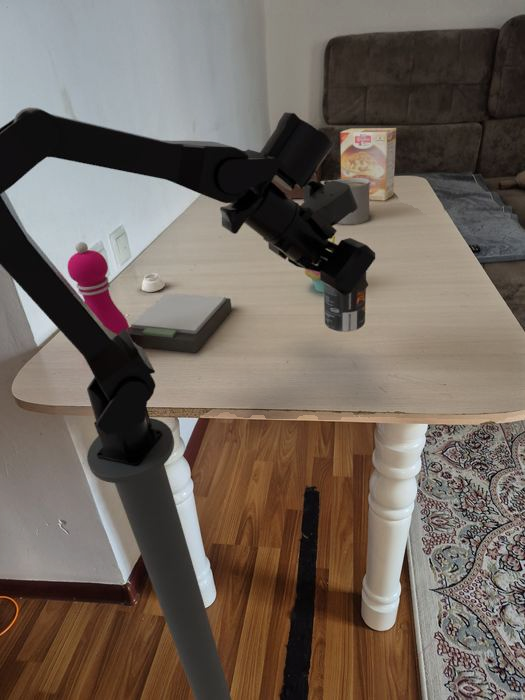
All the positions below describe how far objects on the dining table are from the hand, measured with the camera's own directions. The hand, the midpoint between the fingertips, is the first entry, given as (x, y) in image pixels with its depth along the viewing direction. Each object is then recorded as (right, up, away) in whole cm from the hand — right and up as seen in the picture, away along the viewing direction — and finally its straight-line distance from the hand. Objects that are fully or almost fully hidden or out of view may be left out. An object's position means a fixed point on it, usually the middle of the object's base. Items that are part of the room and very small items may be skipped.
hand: (352, 280), depth 69 cm
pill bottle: (-1, -6, +3) cm, 7 cm away
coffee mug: (+12, +28, +68) cm, 74 cm away
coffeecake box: (+20, +38, +84) cm, 94 cm away
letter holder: (-3, +42, +94) cm, 103 cm away
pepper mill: (-40, -2, +10) cm, 41 cm away
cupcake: (0, +2, +29) cm, 30 cm away
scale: (-28, -6, +21) cm, 36 cm away
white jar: (-37, +4, +38) cm, 53 cm away
